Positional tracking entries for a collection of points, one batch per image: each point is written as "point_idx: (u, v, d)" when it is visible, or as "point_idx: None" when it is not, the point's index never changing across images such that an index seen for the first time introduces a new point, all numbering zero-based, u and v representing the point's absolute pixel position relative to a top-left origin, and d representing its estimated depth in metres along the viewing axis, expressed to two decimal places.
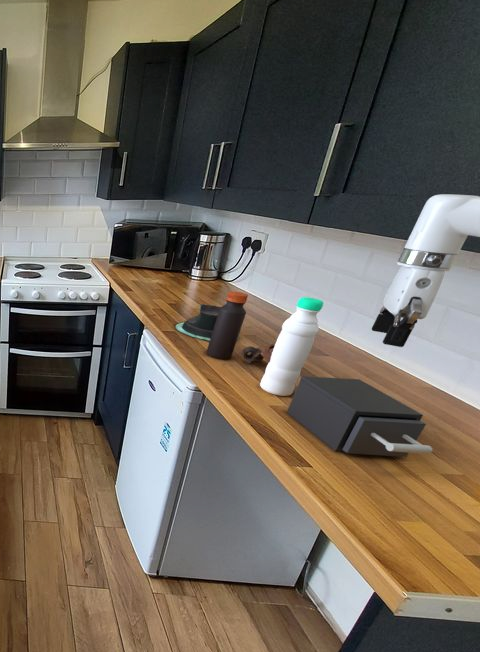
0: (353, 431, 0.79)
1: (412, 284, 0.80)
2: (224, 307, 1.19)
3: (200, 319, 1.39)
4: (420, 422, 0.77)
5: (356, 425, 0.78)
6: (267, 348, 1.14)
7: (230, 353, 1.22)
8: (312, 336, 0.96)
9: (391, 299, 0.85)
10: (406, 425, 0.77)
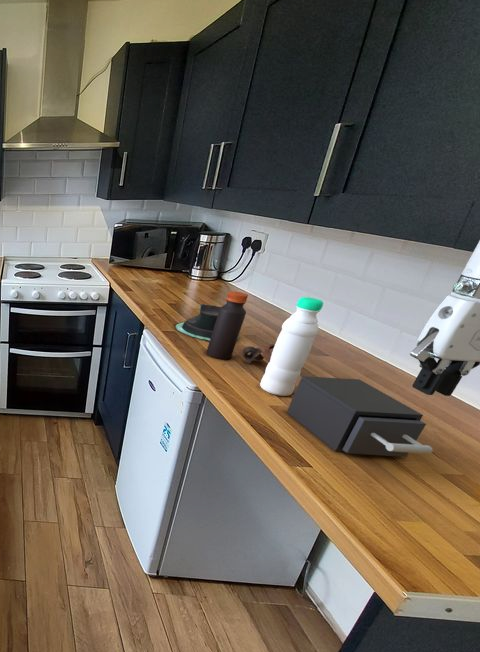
0: (353, 431, 0.79)
1: (435, 312, 0.67)
2: (224, 307, 1.19)
3: (200, 319, 1.39)
4: (420, 422, 0.77)
5: (356, 425, 0.78)
6: (267, 348, 1.14)
7: (230, 353, 1.22)
8: (312, 336, 0.96)
9: None
10: (406, 425, 0.77)
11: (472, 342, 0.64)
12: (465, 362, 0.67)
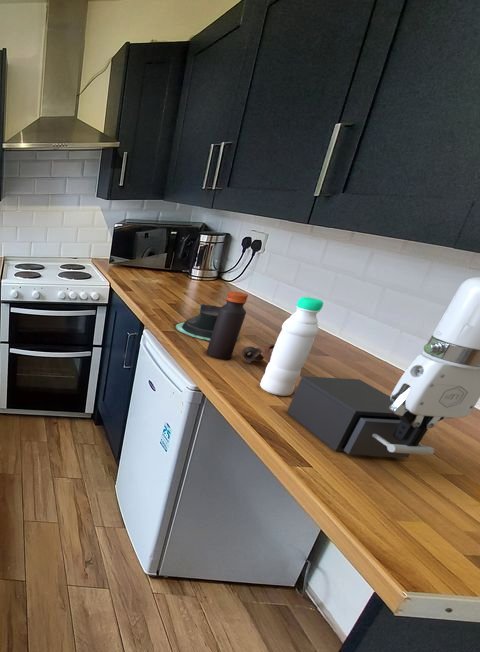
0: (354, 432, 0.79)
1: (408, 369, 0.70)
2: (224, 307, 1.19)
3: (200, 319, 1.39)
4: None
5: (357, 426, 0.78)
6: (267, 348, 1.14)
7: (230, 353, 1.22)
8: (312, 336, 0.96)
9: None
10: None
11: (441, 400, 0.68)
12: (430, 416, 0.71)
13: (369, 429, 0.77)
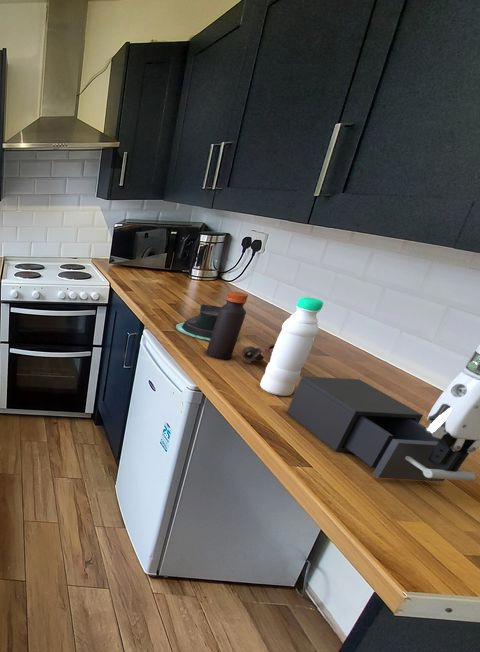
0: (385, 454, 0.72)
1: (448, 388, 0.64)
2: (224, 307, 1.19)
3: (200, 319, 1.39)
4: None
5: (389, 448, 0.72)
6: (267, 348, 1.14)
7: (230, 353, 1.22)
8: (312, 336, 0.96)
9: None
10: None
11: None
12: (472, 439, 0.65)
13: (402, 451, 0.71)
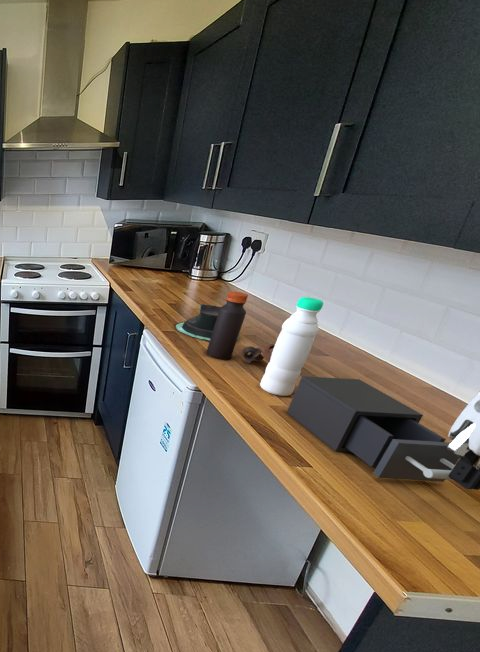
0: (386, 454, 0.72)
1: (471, 404, 0.61)
2: (224, 307, 1.19)
3: (200, 319, 1.39)
4: None
5: (389, 448, 0.72)
6: (267, 348, 1.14)
7: (230, 353, 1.22)
8: (312, 336, 0.96)
9: None
10: (445, 449, 0.70)
11: None
12: None
13: (402, 451, 0.71)
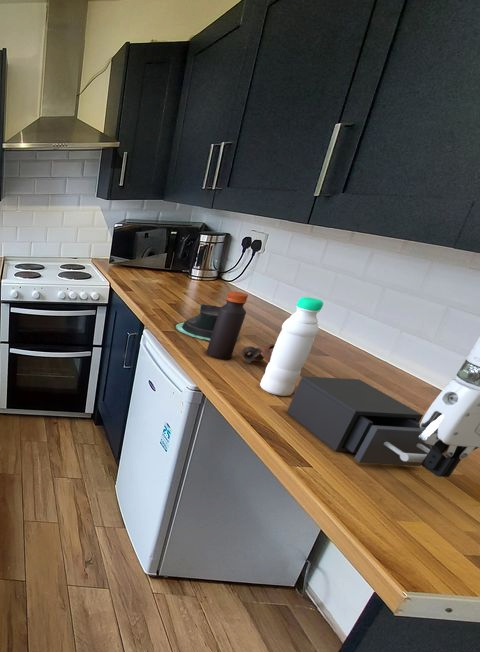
0: (365, 440, 0.76)
1: (440, 396, 0.65)
2: (224, 307, 1.19)
3: (200, 319, 1.39)
4: None
5: (369, 434, 0.76)
6: (267, 348, 1.14)
7: (230, 353, 1.22)
8: (312, 336, 0.96)
9: None
10: None
11: (477, 430, 0.63)
12: (464, 445, 0.66)
13: (381, 437, 0.75)
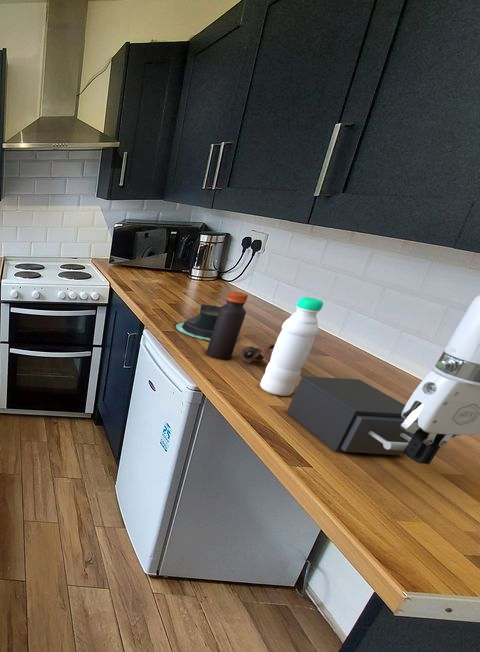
0: (351, 430, 0.79)
1: (420, 386, 0.68)
2: (224, 307, 1.19)
3: (200, 319, 1.39)
4: None
5: (354, 424, 0.79)
6: (267, 348, 1.14)
7: (230, 353, 1.22)
8: (312, 336, 0.96)
9: None
10: None
11: (455, 418, 0.66)
12: (443, 433, 0.69)
13: (365, 427, 0.78)
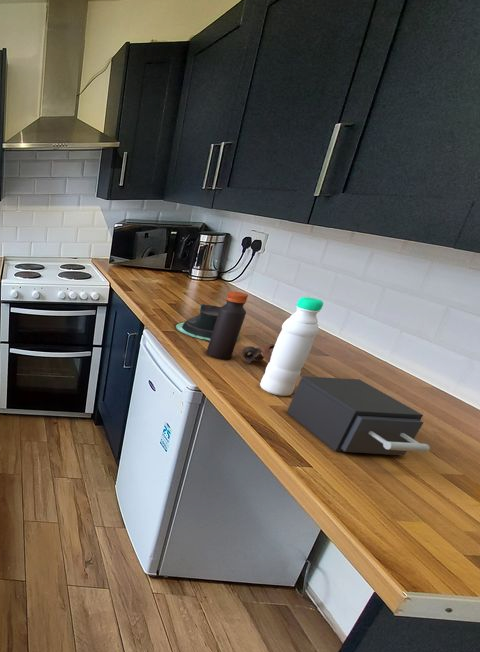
0: (351, 430, 0.79)
1: None
2: (224, 307, 1.19)
3: (200, 319, 1.39)
4: (417, 421, 0.77)
5: (354, 424, 0.79)
6: (267, 348, 1.14)
7: (230, 353, 1.22)
8: (312, 336, 0.96)
9: None
10: (404, 424, 0.77)
11: None
12: None
13: (365, 427, 0.78)
